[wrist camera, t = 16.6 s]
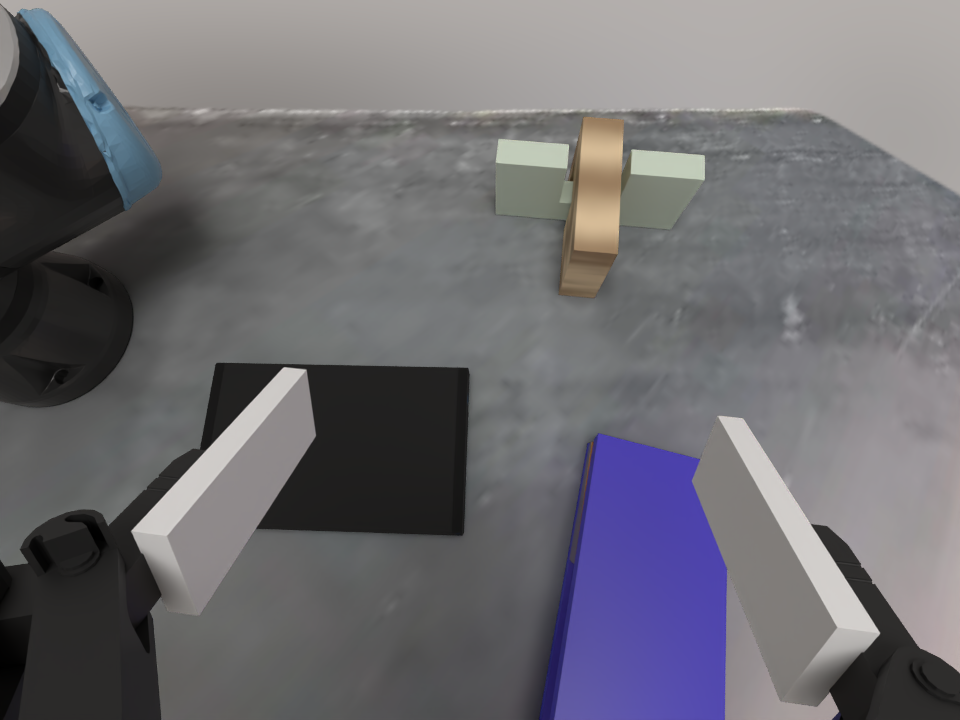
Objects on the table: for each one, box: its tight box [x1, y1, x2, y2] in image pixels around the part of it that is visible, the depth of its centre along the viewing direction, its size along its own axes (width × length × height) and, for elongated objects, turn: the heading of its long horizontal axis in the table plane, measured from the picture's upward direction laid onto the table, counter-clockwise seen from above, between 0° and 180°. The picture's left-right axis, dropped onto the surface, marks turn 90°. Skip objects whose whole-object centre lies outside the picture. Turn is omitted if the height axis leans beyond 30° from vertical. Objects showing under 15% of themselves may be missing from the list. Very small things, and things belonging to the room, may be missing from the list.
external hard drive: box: [200, 363, 469, 536], centre depth 42 cm, size 14×23×3 cm, turn 88°
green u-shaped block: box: [496, 139, 705, 230], centre depth 45 cm, size 18×2×8 cm, turn 83°
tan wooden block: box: [559, 117, 624, 298], centre depth 43 cm, size 13×4×9 cm, turn 173°
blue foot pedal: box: [539, 433, 727, 720], centre depth 34 cm, size 12×28×10 cm, turn 167°
